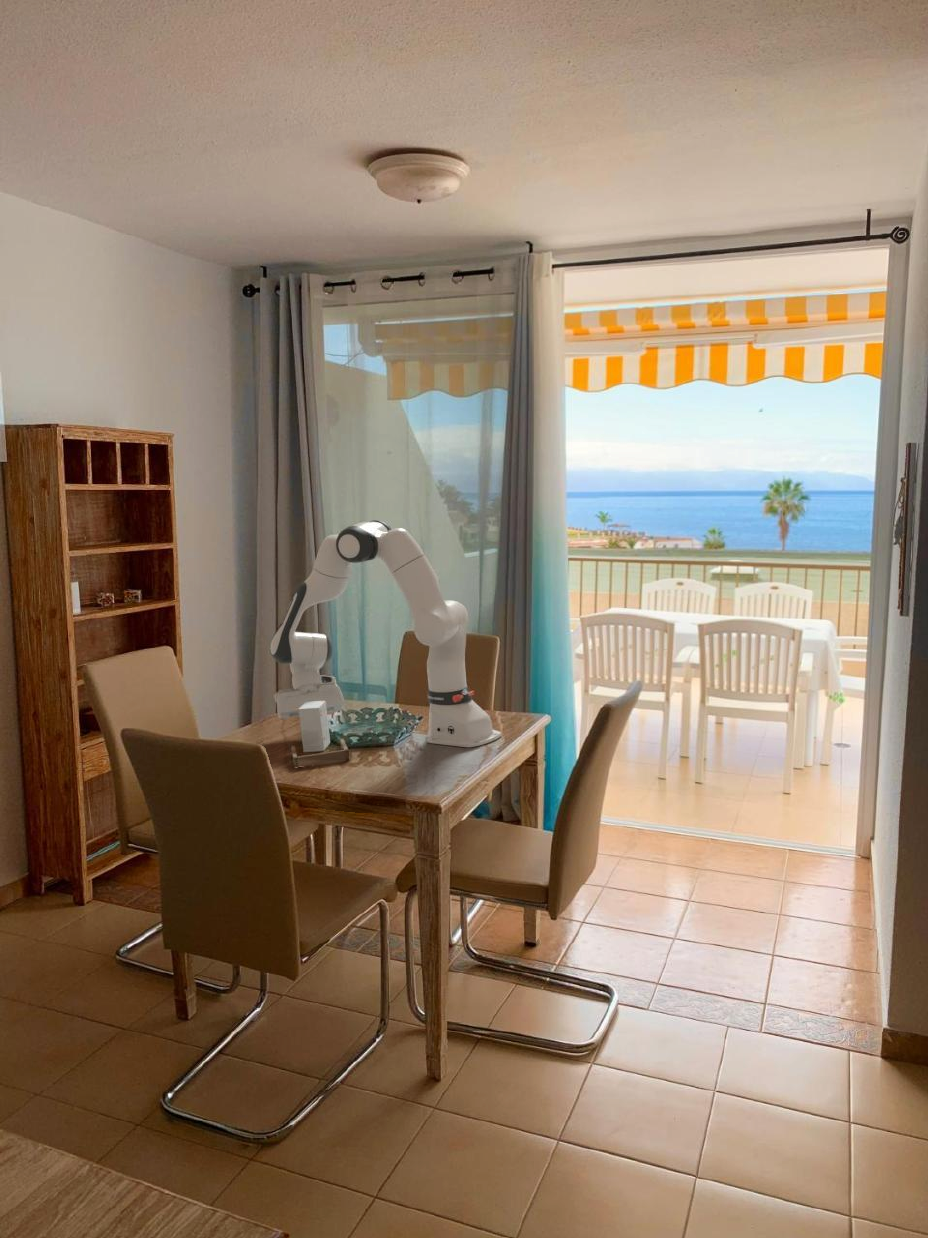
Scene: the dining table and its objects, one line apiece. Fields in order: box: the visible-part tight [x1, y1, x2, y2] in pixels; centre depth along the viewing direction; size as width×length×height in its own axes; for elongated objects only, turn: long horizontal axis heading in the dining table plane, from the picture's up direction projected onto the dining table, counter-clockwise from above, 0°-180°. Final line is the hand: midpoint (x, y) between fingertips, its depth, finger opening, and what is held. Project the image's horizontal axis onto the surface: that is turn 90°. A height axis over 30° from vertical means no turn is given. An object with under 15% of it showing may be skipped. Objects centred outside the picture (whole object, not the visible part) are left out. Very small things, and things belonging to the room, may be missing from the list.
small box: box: [298, 701, 331, 753], centre depth 280 cm, size 8×6×13 cm
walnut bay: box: [290, 737, 350, 768], centre depth 270 cm, size 12×15×3 cm
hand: (313, 725), depth 288 cm, fingers closed
